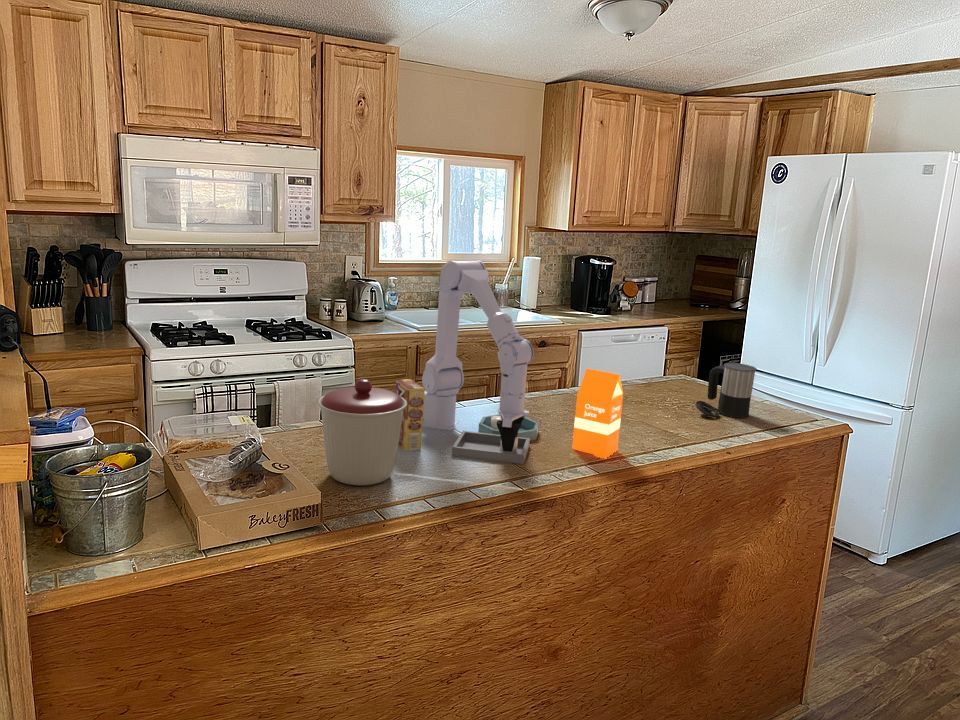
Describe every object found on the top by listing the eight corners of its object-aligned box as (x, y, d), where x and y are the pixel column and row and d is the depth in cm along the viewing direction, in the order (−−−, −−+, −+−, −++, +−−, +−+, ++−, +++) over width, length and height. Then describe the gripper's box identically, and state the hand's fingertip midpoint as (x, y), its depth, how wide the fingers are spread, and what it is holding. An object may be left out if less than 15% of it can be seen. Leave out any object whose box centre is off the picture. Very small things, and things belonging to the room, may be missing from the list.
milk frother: (753, 414, 221) (760, 366, 218) (739, 425, 208) (747, 375, 205) (705, 404, 228) (712, 358, 225) (690, 415, 215) (696, 366, 212)
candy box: (422, 451, 172) (425, 388, 168) (405, 452, 170) (408, 389, 166) (409, 439, 179) (412, 378, 176) (392, 440, 177) (394, 379, 174)
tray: (451, 457, 169) (452, 447, 168) (462, 440, 181) (462, 430, 180) (523, 466, 166) (524, 455, 165) (529, 448, 178) (530, 438, 178)
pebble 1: (489, 432, 186) (490, 419, 185) (491, 428, 190) (492, 415, 189) (504, 434, 186) (505, 421, 185) (506, 429, 189) (507, 416, 189)
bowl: (475, 440, 181) (475, 428, 181) (484, 423, 196) (485, 412, 195) (534, 446, 179) (535, 435, 179) (539, 429, 193) (540, 418, 193)
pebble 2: (498, 454, 171) (499, 440, 170) (501, 448, 175) (502, 434, 174) (515, 456, 170) (516, 442, 170) (517, 450, 174) (518, 436, 173)
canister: (408, 492, 147) (413, 391, 143) (316, 495, 143) (317, 391, 139) (399, 460, 164) (403, 369, 160) (316, 462, 161) (318, 368, 156)
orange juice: (605, 459, 174) (613, 377, 169) (571, 450, 178) (578, 370, 174) (617, 450, 180) (626, 371, 176) (584, 442, 185) (592, 365, 180)
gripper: (526, 401, 162) (522, 460, 165) (533, 386, 176) (529, 440, 179) (495, 398, 163) (491, 456, 166) (504, 383, 177) (500, 436, 180)
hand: (508, 447), depth 172 cm, fingers closed on pebble 2, 4 cm apart
